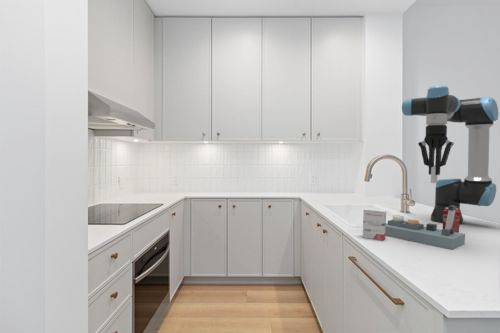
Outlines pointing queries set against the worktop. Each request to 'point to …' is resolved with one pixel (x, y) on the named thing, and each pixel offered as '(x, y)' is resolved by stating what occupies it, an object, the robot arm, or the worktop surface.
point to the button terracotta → (413, 222)
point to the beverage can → (455, 221)
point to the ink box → (374, 224)
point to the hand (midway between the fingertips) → (433, 182)
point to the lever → (450, 217)
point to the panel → (425, 235)
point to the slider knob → (431, 227)
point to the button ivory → (398, 218)
